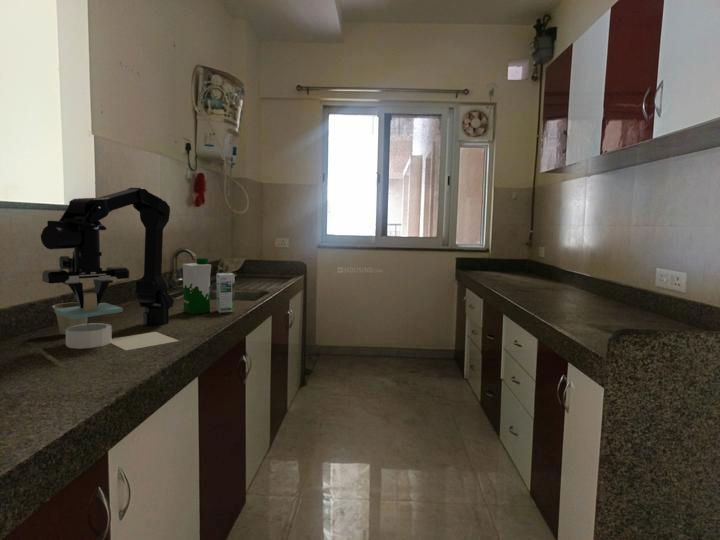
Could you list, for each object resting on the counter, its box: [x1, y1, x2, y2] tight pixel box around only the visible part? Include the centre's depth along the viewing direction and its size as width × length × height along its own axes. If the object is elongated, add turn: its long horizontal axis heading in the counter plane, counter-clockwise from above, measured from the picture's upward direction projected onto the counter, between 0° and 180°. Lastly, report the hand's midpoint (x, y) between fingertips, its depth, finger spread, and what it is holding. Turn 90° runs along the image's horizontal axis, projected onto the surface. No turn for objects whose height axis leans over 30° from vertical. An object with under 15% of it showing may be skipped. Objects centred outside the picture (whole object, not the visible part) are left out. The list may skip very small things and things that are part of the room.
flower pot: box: [52, 301, 89, 335], centre depth 129 cm, size 9×9×9 cm
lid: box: [54, 292, 124, 319], centre depth 117 cm, size 12×12×5 cm
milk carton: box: [182, 257, 212, 315], centre depth 166 cm, size 9×9×20 cm
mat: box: [110, 331, 180, 351], centre depth 122 cm, size 14×14×1 cm
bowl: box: [65, 322, 113, 350], centre depth 118 cm, size 10×10×5 cm
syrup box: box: [216, 272, 236, 314], centre depth 170 cm, size 6×6×14 cm
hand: (88, 307), depth 117 cm, fingers closed on lid, 3 cm apart
